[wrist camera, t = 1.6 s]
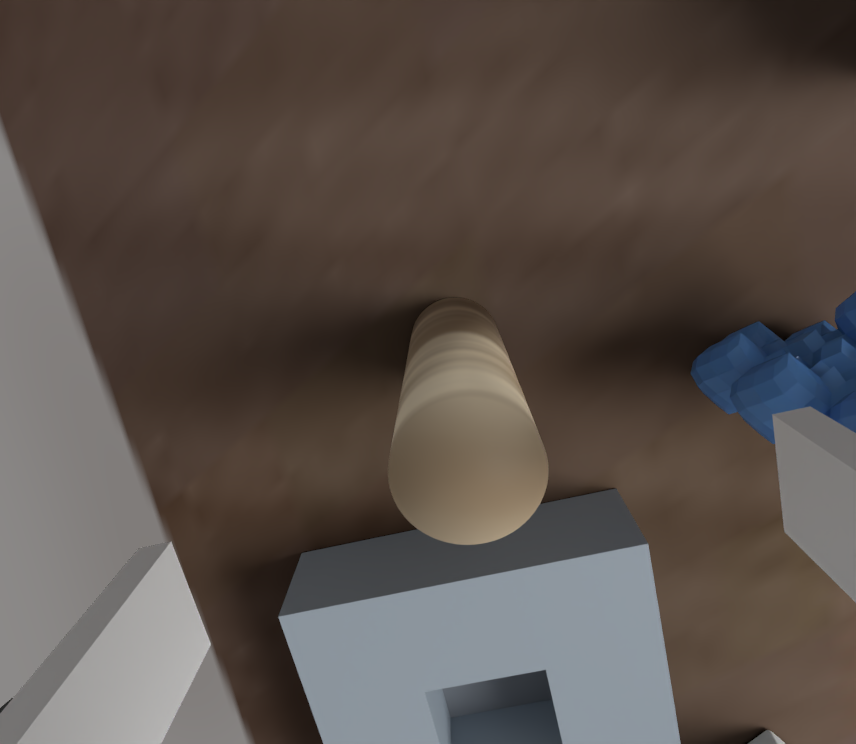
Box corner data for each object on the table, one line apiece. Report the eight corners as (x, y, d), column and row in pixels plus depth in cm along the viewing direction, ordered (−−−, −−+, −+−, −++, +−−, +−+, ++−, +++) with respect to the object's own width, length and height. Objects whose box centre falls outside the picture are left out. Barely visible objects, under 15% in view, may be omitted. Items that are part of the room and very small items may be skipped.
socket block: (301, 553, 33) (278, 616, 28) (616, 488, 32) (648, 543, 27) (381, 792, 37) (372, 882, 32) (660, 743, 36) (695, 831, 31)
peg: (401, 308, 29) (369, 418, 16) (488, 288, 29) (531, 382, 15) (422, 390, 30) (409, 558, 17) (506, 372, 30) (561, 528, 16)
